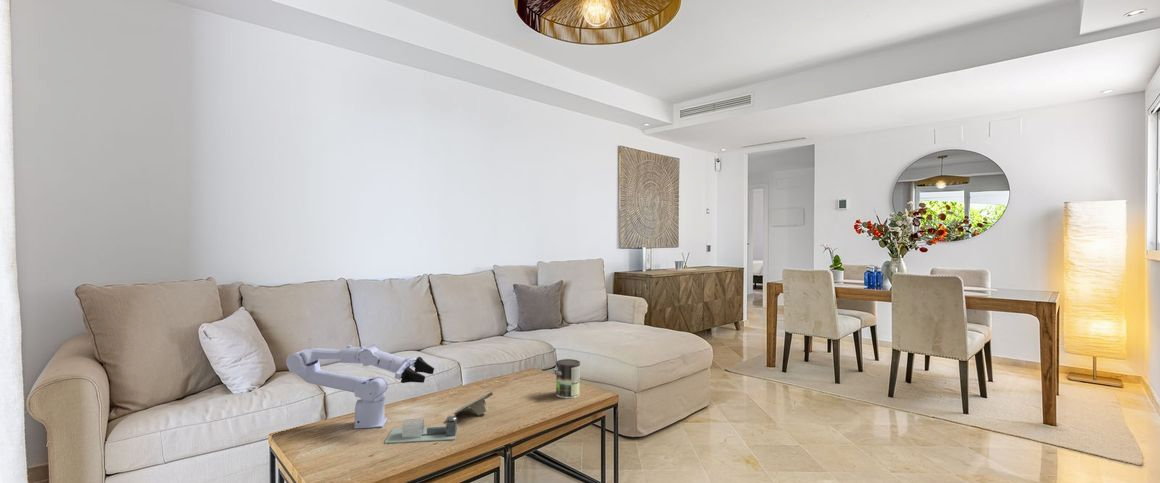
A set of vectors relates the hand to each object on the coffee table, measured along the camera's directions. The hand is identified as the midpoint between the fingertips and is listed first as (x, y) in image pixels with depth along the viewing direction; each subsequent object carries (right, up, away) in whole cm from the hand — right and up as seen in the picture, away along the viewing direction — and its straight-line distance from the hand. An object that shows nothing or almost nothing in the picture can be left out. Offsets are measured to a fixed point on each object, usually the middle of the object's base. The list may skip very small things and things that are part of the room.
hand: (429, 375), depth 170 cm
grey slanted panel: (+12, -19, +12) cm, 25 cm away
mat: (0, -18, -7) cm, 19 cm away
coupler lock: (-3, -17, -9) cm, 20 cm away
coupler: (+7, -18, -8) cm, 20 cm away
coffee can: (+48, -19, +36) cm, 63 cm away
